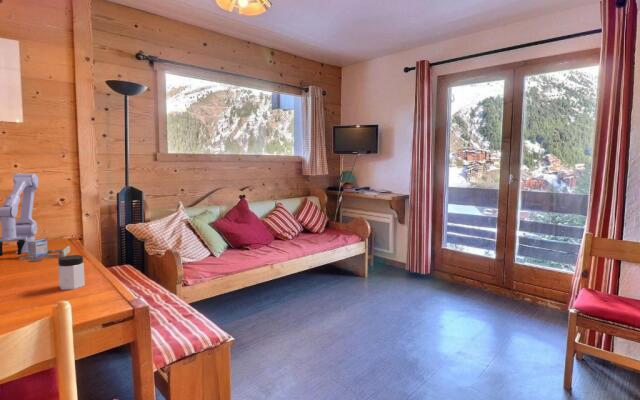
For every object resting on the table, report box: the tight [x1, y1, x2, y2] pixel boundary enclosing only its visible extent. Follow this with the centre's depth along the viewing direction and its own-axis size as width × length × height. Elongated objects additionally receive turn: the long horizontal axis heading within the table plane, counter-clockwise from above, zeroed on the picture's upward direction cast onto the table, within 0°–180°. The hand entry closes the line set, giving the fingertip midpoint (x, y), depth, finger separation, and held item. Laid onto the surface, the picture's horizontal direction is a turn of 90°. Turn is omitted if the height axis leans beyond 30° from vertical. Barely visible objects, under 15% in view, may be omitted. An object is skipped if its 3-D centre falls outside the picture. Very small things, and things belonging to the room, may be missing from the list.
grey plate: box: [27, 248, 63, 263], centre depth 196 cm, size 28×7×1 cm, turn 8°
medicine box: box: [27, 238, 49, 259], centre depth 194 cm, size 8×4×9 cm, turn 179°
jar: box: [57, 254, 86, 291], centre depth 145 cm, size 9×8×12 cm
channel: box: [19, 245, 71, 261], centre depth 196 cm, size 14×19×3 cm
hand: (10, 255), depth 189 cm, fingers open, 7 cm apart
